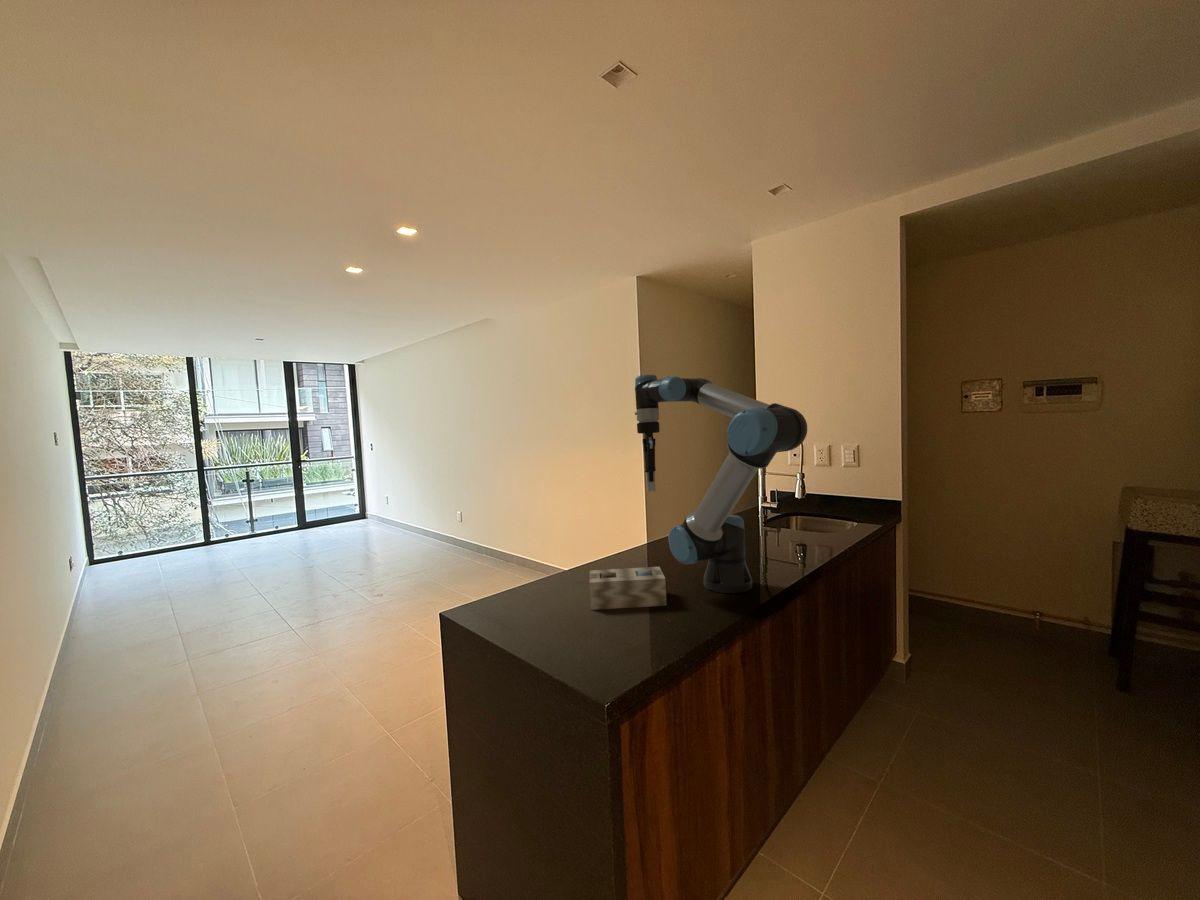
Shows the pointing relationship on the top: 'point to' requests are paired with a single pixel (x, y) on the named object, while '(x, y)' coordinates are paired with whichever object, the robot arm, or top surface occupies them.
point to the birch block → (627, 589)
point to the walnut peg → (607, 575)
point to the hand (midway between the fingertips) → (651, 490)
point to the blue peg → (644, 573)
